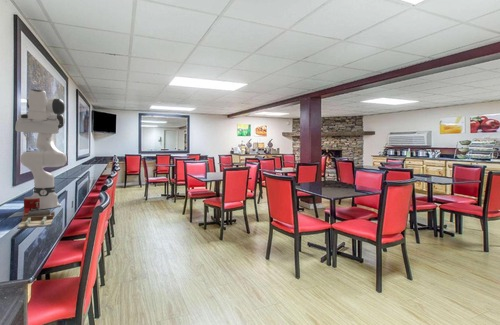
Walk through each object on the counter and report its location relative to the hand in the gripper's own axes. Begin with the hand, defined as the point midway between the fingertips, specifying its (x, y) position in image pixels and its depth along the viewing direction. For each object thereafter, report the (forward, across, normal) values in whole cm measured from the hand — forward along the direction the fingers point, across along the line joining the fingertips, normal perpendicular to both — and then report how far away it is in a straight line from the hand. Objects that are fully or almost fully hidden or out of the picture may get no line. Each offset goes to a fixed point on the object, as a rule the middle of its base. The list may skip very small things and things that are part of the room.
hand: (37, 140), depth 163 cm
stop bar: (+45, -1, +5) cm, 45 cm away
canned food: (+46, +3, -9) cm, 47 cm away
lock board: (+46, -1, +12) cm, 47 cm away
